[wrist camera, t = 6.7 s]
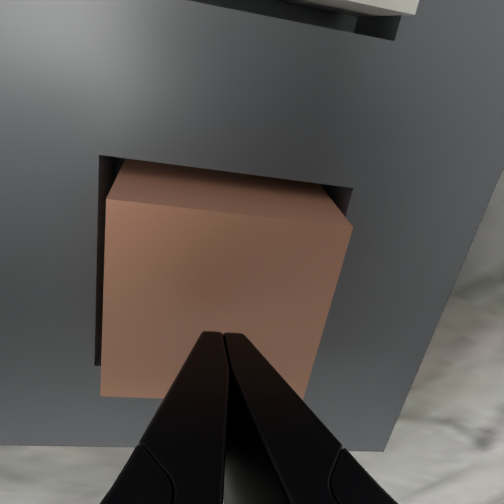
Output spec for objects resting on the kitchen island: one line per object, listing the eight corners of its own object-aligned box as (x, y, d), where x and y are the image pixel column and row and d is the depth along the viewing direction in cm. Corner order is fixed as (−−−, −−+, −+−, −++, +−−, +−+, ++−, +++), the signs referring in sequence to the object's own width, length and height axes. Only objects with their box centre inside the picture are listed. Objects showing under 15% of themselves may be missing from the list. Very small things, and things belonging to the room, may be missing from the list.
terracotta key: (281, 332, 14) (301, 403, 12) (118, 321, 13) (100, 396, 11) (317, 182, 12) (353, 227, 9) (126, 157, 11) (105, 198, 9)
